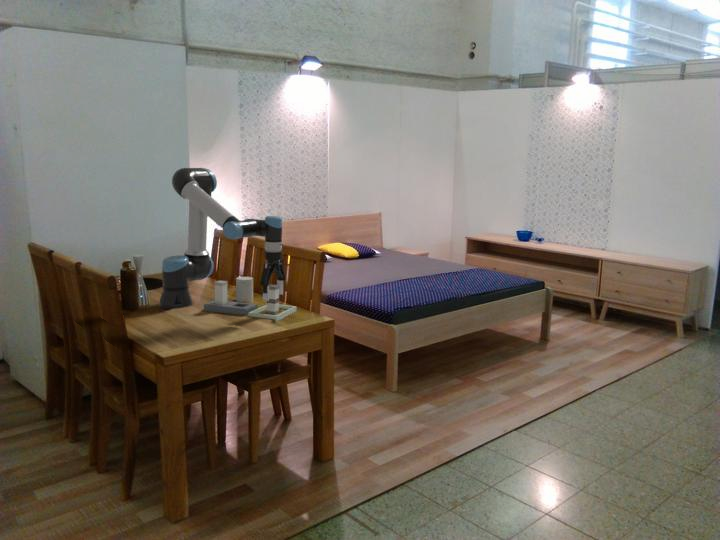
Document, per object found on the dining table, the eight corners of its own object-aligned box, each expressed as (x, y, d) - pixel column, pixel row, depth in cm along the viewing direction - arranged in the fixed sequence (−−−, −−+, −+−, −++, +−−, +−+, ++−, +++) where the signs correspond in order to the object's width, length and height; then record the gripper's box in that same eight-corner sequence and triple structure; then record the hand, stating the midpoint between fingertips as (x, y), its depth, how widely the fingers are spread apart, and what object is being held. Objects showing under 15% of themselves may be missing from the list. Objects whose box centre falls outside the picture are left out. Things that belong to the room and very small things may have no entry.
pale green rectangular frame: (248, 318, 270) (248, 312, 269) (269, 308, 288) (269, 303, 288) (276, 321, 265) (276, 316, 265) (296, 311, 284) (296, 306, 283)
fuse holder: (204, 312, 277) (203, 303, 276) (216, 307, 286) (216, 299, 286) (246, 317, 270) (246, 309, 269) (257, 312, 279) (257, 304, 279)
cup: (241, 304, 294) (241, 280, 292) (233, 301, 300) (233, 277, 298) (256, 302, 299) (256, 278, 297) (247, 299, 305) (247, 276, 303)
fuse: (214, 309, 278) (214, 282, 276) (219, 307, 282) (219, 280, 280) (222, 310, 277) (222, 282, 275) (227, 308, 281) (227, 281, 279)
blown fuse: (266, 314, 275) (266, 286, 273) (271, 312, 279) (271, 284, 277) (275, 315, 274) (275, 286, 272) (279, 313, 278) (279, 285, 276)
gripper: (267, 255, 259) (267, 303, 262) (293, 248, 282) (292, 292, 286) (252, 253, 261) (252, 301, 265) (278, 246, 284) (278, 291, 288)
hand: (273, 297), depth 275 cm, fingers open, 13 cm apart
